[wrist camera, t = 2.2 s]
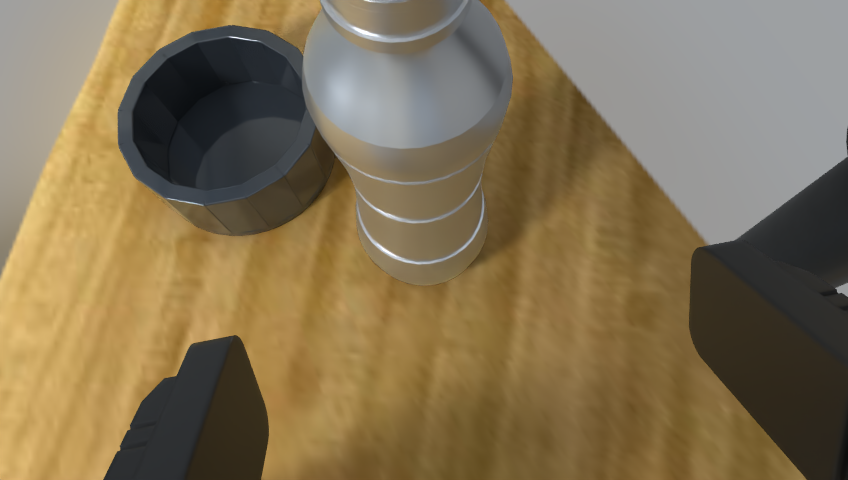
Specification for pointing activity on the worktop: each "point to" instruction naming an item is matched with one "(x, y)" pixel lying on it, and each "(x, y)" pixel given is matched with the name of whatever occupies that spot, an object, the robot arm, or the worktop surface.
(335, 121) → the silver bottle
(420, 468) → the worktop surface
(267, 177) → the socket
